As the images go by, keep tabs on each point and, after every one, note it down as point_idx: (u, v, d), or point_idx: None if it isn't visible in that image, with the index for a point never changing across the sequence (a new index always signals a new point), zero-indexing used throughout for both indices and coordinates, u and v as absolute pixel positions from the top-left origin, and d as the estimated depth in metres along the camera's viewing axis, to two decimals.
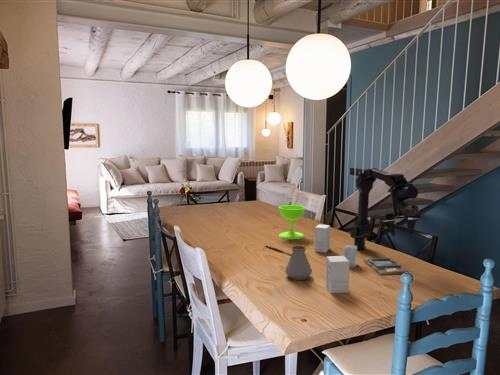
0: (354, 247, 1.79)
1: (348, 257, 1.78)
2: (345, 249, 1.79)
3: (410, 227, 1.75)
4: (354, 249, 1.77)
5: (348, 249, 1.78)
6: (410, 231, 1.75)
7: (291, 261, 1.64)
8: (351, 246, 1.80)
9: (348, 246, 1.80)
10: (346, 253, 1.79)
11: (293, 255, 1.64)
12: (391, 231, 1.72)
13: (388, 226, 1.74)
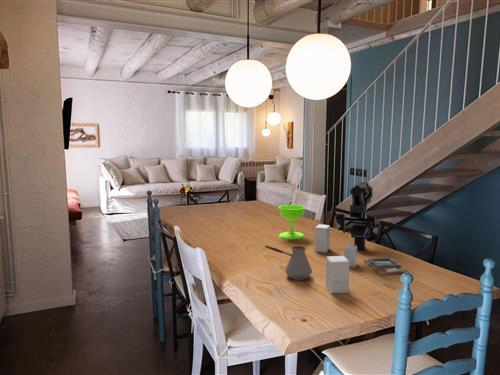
0: (354, 247, 1.79)
1: (348, 257, 1.78)
2: (345, 249, 1.79)
3: None
4: (354, 249, 1.77)
5: (348, 249, 1.78)
6: None
7: (291, 261, 1.64)
8: (351, 246, 1.80)
9: (348, 246, 1.80)
10: (346, 253, 1.79)
11: (293, 255, 1.64)
12: None
13: None
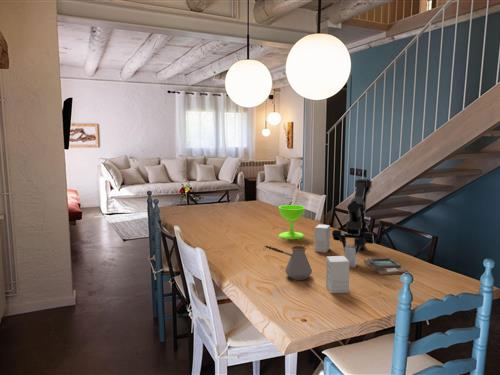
0: (354, 247, 1.79)
1: (348, 257, 1.78)
2: (345, 249, 1.79)
3: None
4: (354, 249, 1.77)
5: (348, 249, 1.78)
6: (356, 249, 1.79)
7: (291, 261, 1.64)
8: (351, 246, 1.80)
9: (348, 246, 1.80)
10: (346, 253, 1.79)
11: (293, 255, 1.64)
12: (343, 247, 1.82)
13: (343, 243, 1.84)
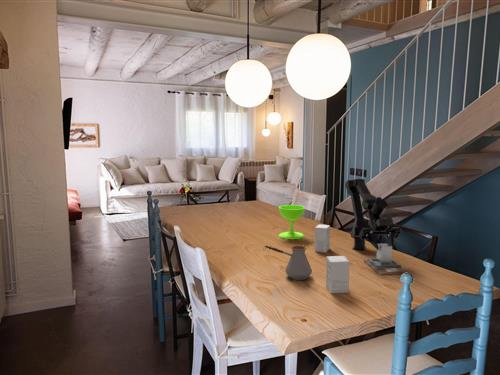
0: (388, 245, 1.77)
1: (385, 256, 1.76)
2: (382, 248, 1.75)
3: (390, 242, 1.79)
4: (391, 247, 1.76)
5: (385, 248, 1.75)
6: (391, 245, 1.78)
7: (291, 261, 1.64)
8: (384, 244, 1.78)
9: (382, 245, 1.78)
10: (383, 252, 1.75)
11: (293, 255, 1.64)
12: (374, 245, 1.78)
13: (371, 241, 1.80)
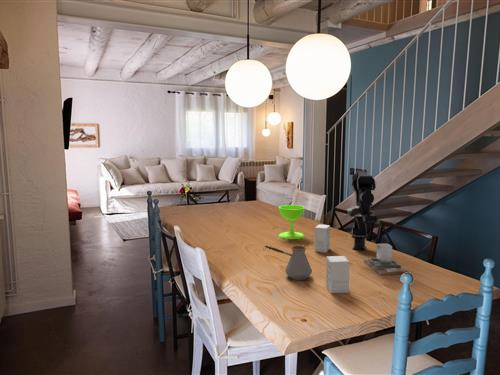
0: (388, 245, 1.77)
1: (385, 256, 1.76)
2: (382, 248, 1.75)
3: None
4: (391, 247, 1.76)
5: (385, 248, 1.75)
6: None
7: (291, 261, 1.64)
8: (384, 244, 1.78)
9: (382, 245, 1.78)
10: (383, 252, 1.75)
11: (293, 255, 1.64)
12: None
13: None
